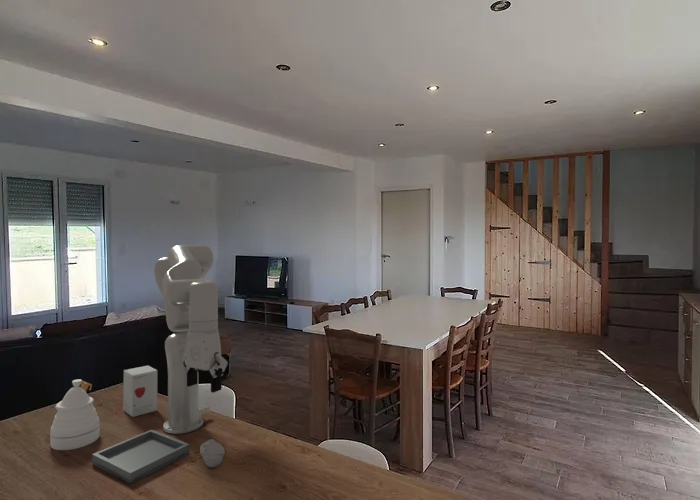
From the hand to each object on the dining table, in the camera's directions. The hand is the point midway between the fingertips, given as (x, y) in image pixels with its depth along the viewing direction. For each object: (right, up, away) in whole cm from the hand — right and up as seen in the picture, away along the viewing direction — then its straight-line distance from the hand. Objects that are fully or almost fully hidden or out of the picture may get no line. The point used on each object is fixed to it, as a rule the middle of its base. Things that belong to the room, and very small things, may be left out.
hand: (203, 388), depth 116 cm
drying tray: (-19, -21, +4) cm, 29 cm away
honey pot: (-45, -21, +15) cm, 52 cm away
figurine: (-56, -21, +34) cm, 68 cm away
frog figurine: (+2, -22, 0) cm, 22 cm away
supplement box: (-36, -21, +37) cm, 56 cm away
